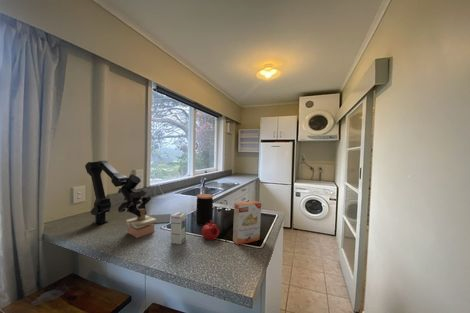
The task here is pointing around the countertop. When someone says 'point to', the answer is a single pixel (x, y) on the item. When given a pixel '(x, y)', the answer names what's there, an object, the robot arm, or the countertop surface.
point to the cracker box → (246, 222)
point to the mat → (161, 218)
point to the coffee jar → (204, 209)
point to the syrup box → (178, 227)
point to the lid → (141, 220)
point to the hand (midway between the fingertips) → (143, 215)
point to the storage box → (141, 230)
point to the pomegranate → (210, 231)
